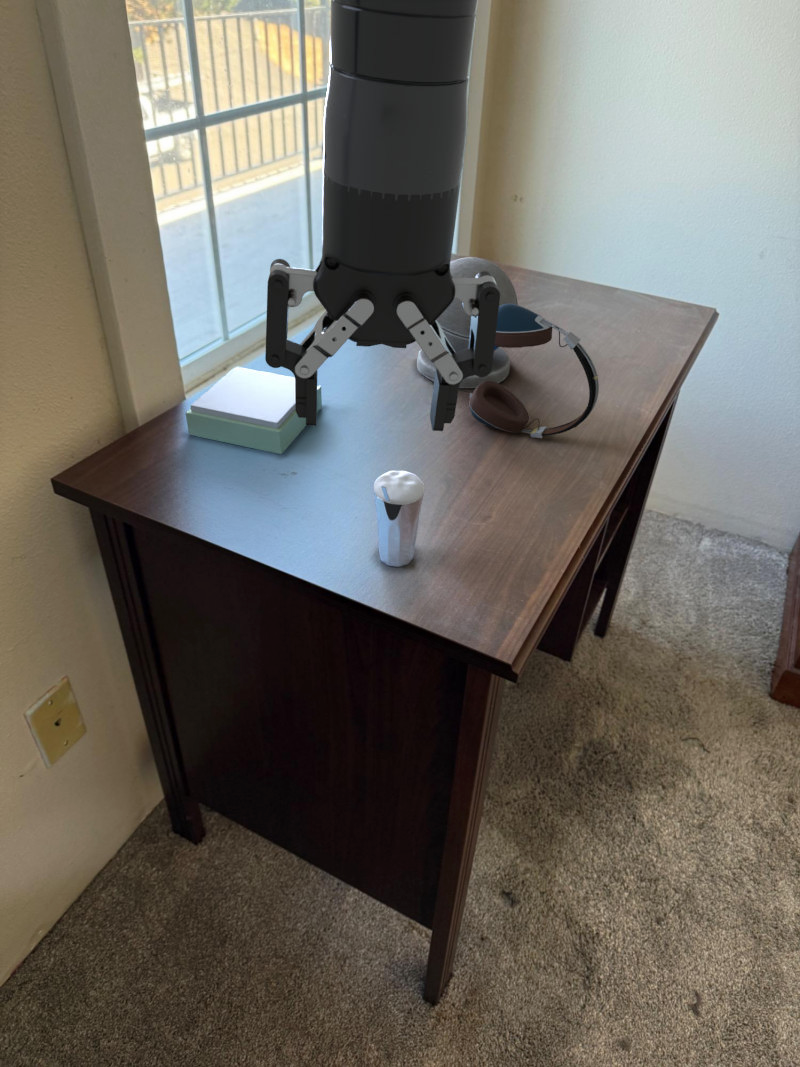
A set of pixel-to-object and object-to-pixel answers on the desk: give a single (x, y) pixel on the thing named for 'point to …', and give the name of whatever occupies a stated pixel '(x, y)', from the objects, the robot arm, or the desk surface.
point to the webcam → (459, 322)
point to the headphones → (501, 404)
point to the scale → (249, 411)
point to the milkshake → (398, 515)
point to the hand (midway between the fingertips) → (374, 422)
